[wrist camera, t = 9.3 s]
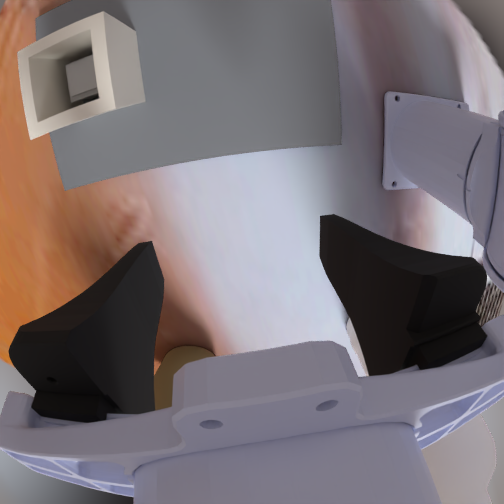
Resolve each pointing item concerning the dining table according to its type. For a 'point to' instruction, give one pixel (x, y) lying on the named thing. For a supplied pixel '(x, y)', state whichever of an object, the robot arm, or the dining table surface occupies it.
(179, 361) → the squeeze bottle
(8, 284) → the dining table surface
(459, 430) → the bottle
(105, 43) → the sleeve
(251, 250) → the dining table surface
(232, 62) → the base plate
